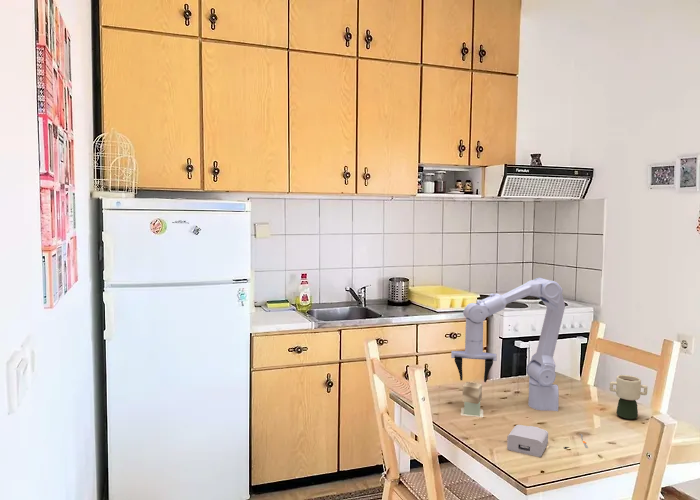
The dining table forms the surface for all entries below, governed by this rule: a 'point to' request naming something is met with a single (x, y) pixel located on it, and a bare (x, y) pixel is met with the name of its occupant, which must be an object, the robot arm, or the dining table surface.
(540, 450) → the charger
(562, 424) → the dining table surface
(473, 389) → the maple block
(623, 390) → the trophy cup
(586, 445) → the key chain
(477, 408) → the sage base block
